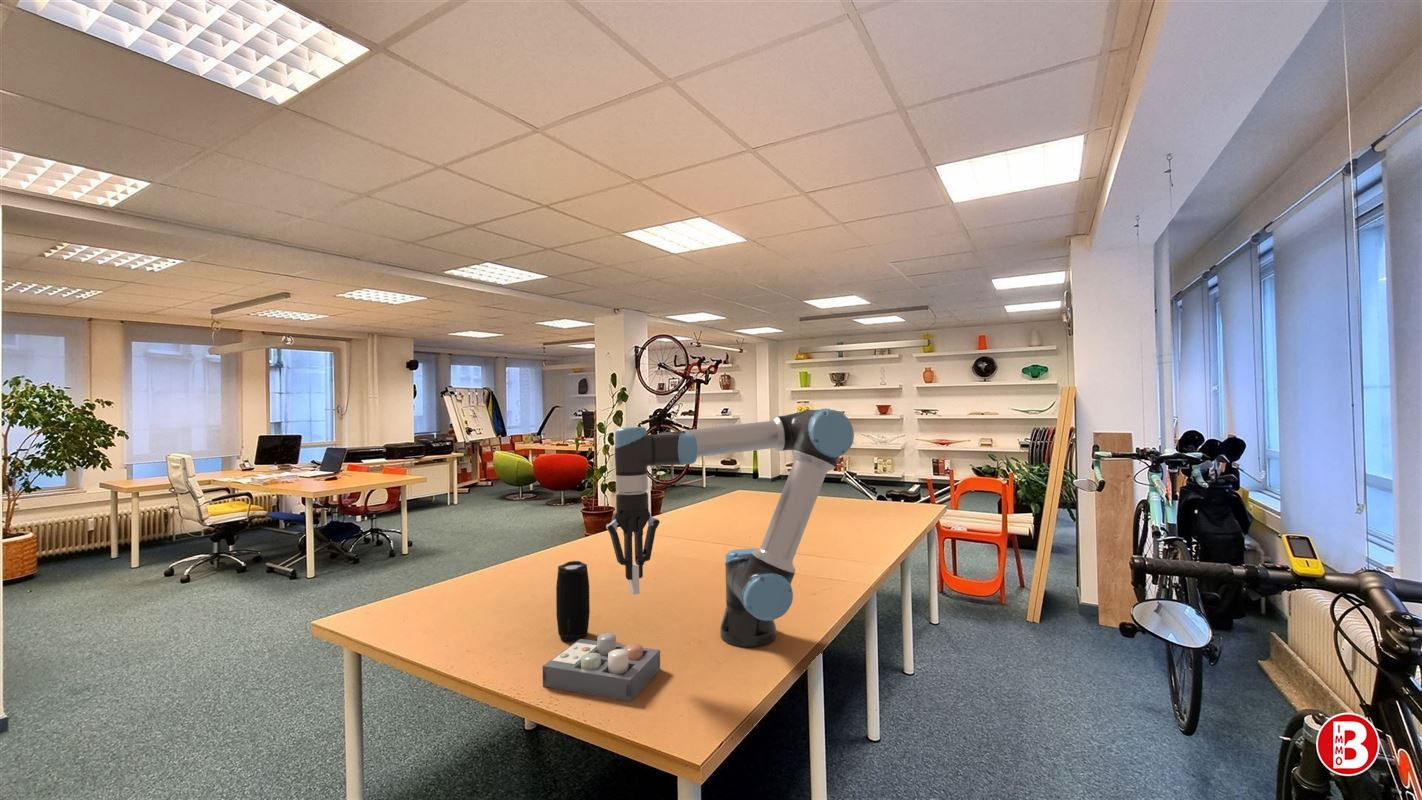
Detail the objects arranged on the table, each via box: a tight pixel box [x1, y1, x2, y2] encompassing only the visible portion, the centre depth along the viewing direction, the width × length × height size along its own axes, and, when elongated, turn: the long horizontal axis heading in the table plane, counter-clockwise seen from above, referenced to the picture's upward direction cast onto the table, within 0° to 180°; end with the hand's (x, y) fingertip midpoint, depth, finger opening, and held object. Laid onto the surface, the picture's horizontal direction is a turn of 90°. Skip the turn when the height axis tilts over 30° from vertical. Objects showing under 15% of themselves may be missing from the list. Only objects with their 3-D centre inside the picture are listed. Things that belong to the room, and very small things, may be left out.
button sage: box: [581, 653, 601, 671], centre depth 120 cm, size 4×4×4 cm
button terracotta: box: [624, 643, 644, 670], centre depth 124 cm, size 4×4×4 cm
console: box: [542, 638, 661, 703], centre depth 123 cm, size 22×15×5 cm
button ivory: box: [608, 649, 629, 675], centre depth 117 cm, size 4×4×4 cm
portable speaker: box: [555, 560, 591, 643], centre depth 146 cm, size 9×9×20 cm
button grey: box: [596, 632, 617, 657], centre depth 126 cm, size 4×4×4 cm
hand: (634, 592), depth 125 cm, fingers closed
